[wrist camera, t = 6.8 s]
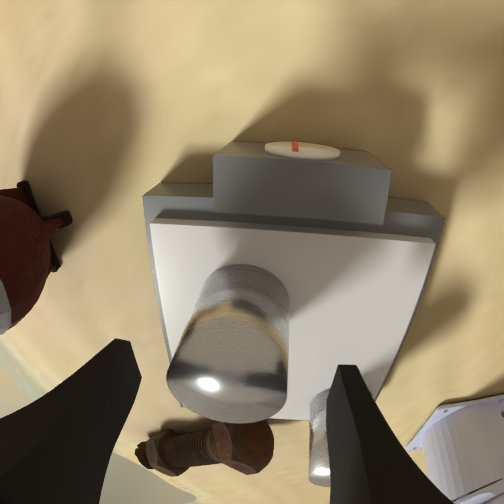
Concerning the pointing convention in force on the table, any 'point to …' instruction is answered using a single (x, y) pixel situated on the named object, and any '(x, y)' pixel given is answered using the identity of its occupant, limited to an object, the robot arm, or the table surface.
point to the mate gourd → (24, 252)
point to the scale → (300, 253)
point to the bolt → (210, 448)
